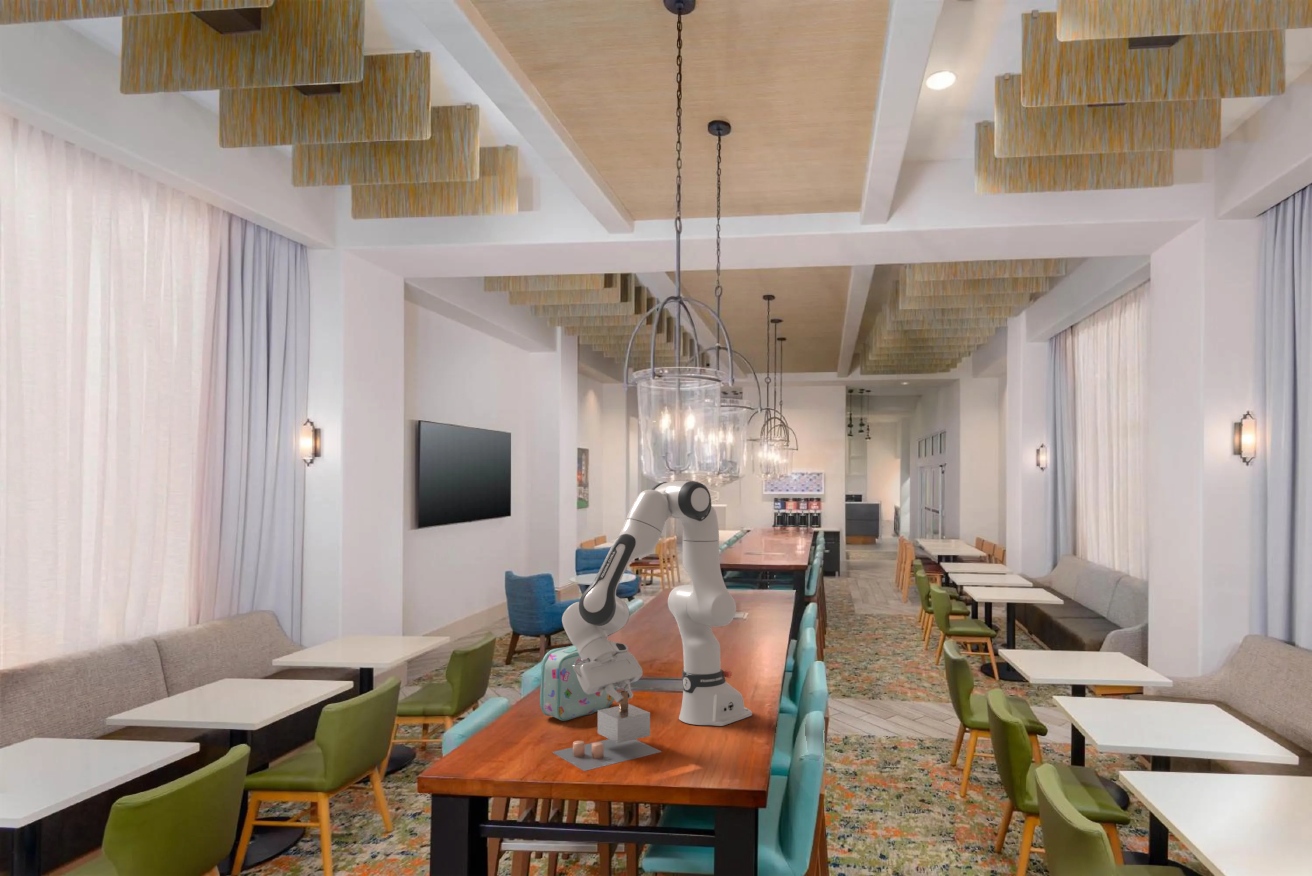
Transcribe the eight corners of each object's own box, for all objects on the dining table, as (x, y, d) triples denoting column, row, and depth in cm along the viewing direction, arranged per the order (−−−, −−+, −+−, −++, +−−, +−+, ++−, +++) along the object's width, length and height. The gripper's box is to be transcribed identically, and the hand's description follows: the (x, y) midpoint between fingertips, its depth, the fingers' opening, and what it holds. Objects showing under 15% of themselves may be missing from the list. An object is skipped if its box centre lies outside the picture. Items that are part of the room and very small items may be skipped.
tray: (626, 739, 221) (626, 723, 221) (662, 756, 207) (661, 739, 207) (551, 756, 208) (551, 739, 208) (584, 776, 194) (584, 757, 194)
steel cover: (629, 726, 217) (629, 685, 218) (650, 736, 209) (649, 693, 210) (597, 733, 212) (597, 691, 212) (617, 743, 204) (617, 699, 204)
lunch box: (598, 700, 261) (597, 633, 262) (621, 705, 254) (620, 637, 255) (536, 720, 240) (536, 647, 241) (560, 726, 234) (560, 651, 235)
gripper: (576, 655, 209) (603, 700, 202) (630, 643, 224) (657, 684, 217) (564, 670, 211) (590, 714, 204) (618, 657, 227) (644, 698, 220)
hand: (625, 699), depth 211 cm, fingers closed on steel cover, 2 cm apart
